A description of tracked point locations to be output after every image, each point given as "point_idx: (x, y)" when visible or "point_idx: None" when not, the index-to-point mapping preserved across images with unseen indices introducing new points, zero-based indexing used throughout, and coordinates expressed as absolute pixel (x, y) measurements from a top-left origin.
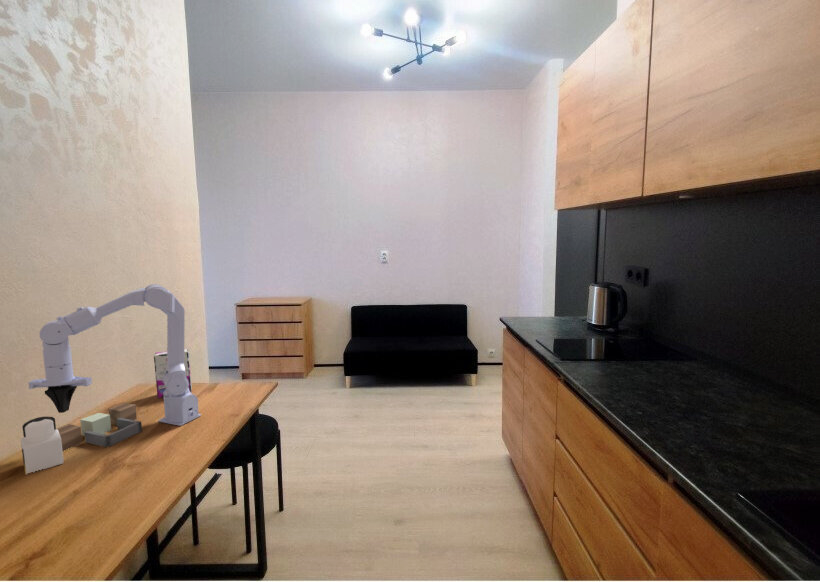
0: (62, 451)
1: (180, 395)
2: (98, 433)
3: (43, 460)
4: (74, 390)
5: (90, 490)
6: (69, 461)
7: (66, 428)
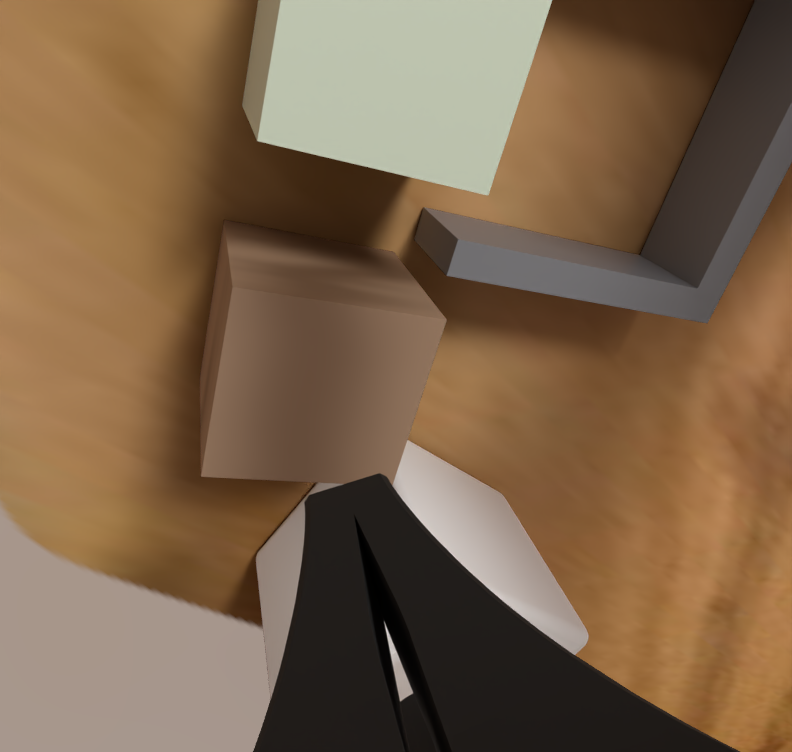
0: (533, 545)
1: None
2: (601, 276)
3: None
4: (643, 710)
5: (769, 588)
6: (518, 469)
7: (327, 382)
